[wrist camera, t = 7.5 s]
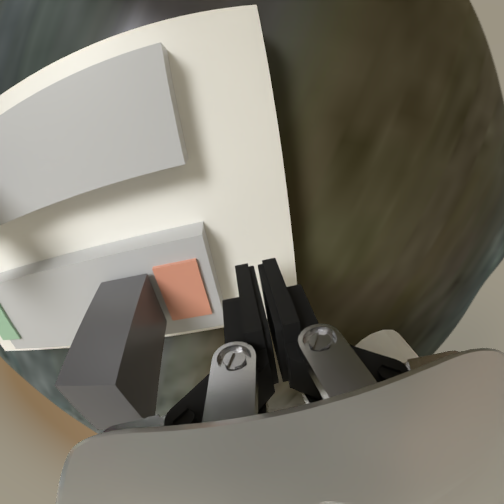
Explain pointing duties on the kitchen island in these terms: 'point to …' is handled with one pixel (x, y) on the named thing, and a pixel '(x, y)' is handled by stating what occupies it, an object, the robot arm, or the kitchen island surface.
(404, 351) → the light grey cup
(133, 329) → the handle
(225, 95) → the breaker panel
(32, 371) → the kitchen island surface
